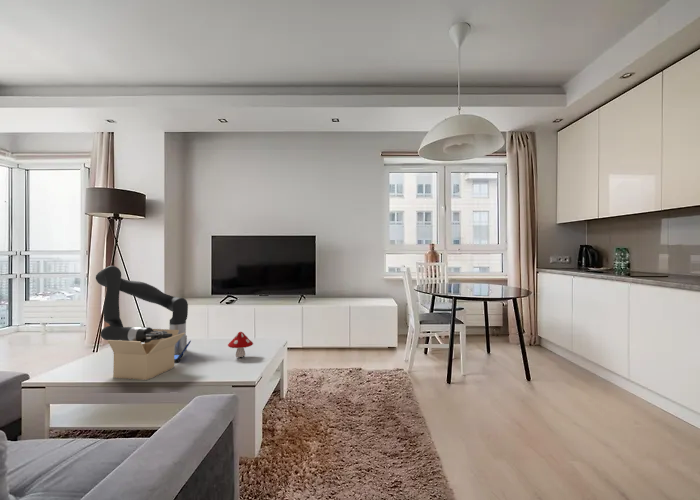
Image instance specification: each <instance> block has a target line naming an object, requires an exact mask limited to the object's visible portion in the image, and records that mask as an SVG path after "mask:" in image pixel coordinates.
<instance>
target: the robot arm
mask: <svg viewBox="0 0 700 500" xmlns="http://www.w3.org/2000/svg"><path fill="white" fill-rule="evenodd" d="M95 281H96V282H97V283H98V284H99V285H100V286H103V287H105V288H106V295H105V298H104V302H103V307H102V308H103V321H104V322H105V324H106V323H107V324H108V326H105V327H103V328H102V329H101V331H100V337H101V338H102V339H103V340H105V341H108V340H121V341H141V343H142V344H144V343H148V342H150V341H151V340H159V339H164V338H169V337H172V334H169V333H167V332H166V331H164V330H163V331H153V329H154V328H153V327H150V326H149V327H148V326H147V327H146V326H135V327H133V326H127V327H126V326H124V325H123V321H122V319H121V316H120V314H121V313H120V292H122V293H125V294H127V295H130V296H133V297H135V298H136V299H137V298H138V299H139V300H142V301H145V302H148V303H151V304H155V305H158V306H161V307H163V308H165V309H166V310H169V312H172V317H171V318H170V319H169V327H168V328H169V330H179V332H178V334H181V333H184V332H185V334H184V335H183V336H182V337H181V338H180V339H179V341H178V342H177V343H176V344H175V347H174V354H181V353H182V351H183V350H184V348H185V347H186V345H187V344H188V336H187V319H188V311H189V310H188V309H189V303H188V301H187V299H186V298H184V297H180V296H179V297H177V296H174V295H170V294H167V293H164V292H162V291H161V290H160V289H158V287H155V286H153V285H151V284H150V283H147V282H144V281H139V280H138V281H137V280H128V279H125V278H122V272H121V270H120V268H119V267H117V266H114V265H109V266H107V267H105V268H103V269H102V270H100V271H99V272H97V274H96V275H95ZM187 351H188V347H187V348H186V350H185V351H184V352H187Z"/></svg>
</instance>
